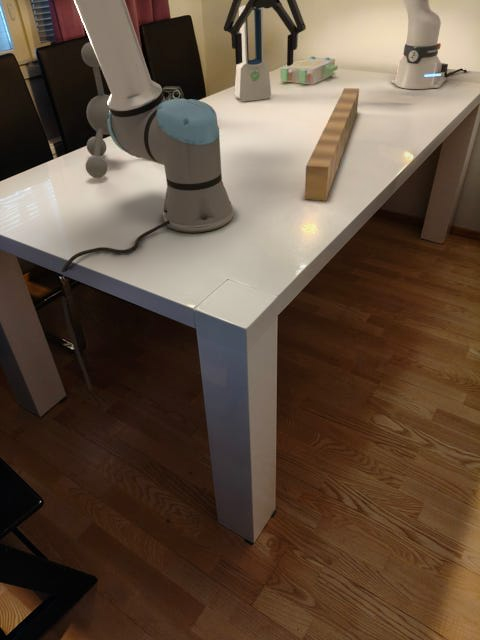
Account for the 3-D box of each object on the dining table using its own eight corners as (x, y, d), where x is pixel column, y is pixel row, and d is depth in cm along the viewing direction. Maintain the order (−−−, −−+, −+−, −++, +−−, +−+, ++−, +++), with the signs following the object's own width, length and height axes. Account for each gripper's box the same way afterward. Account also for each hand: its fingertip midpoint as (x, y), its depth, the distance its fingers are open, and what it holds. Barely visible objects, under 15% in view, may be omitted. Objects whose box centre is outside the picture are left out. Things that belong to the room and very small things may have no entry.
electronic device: (239, 102, 182) (235, 7, 164) (234, 97, 188) (230, 5, 170) (271, 98, 184) (270, 4, 166) (265, 93, 190) (264, 2, 172)
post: (326, 200, 111) (328, 167, 106) (304, 199, 112) (305, 165, 108) (356, 113, 164) (359, 88, 159) (342, 113, 165) (344, 88, 160)
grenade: (164, 121, 167) (160, 89, 161) (170, 116, 172) (166, 85, 166) (182, 121, 166) (179, 89, 160) (188, 116, 170) (184, 85, 164)
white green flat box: (303, 54, 216) (344, 57, 207) (302, 70, 220) (342, 74, 211) (271, 65, 200) (314, 69, 191) (271, 82, 204) (314, 87, 195)
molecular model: (172, 168, 131) (155, 42, 113) (90, 184, 125) (57, 53, 107) (152, 143, 149) (134, 30, 130) (79, 156, 143) (49, 39, 124)
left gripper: (321, -44, 109) (316, 62, 121) (219, -40, 116) (224, 59, 129) (312, -43, 103) (308, 68, 116) (206, -38, 111) (213, 65, 124)
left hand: (264, 64), depth 123 cm, fingers open, 13 cm apart
